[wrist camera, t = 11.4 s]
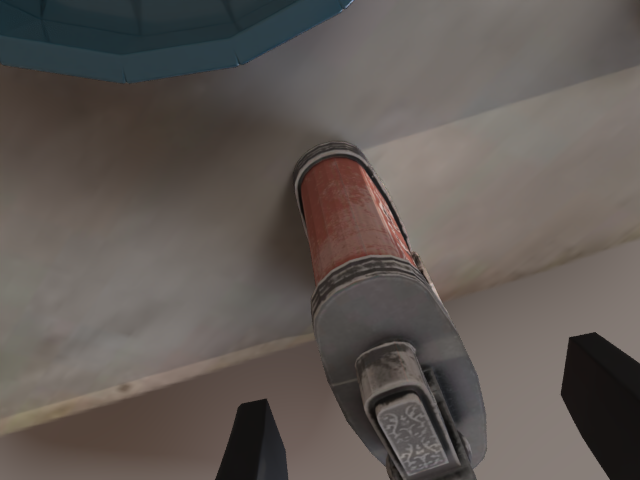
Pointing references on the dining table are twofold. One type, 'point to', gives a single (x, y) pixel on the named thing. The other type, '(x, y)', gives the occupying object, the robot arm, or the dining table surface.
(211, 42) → the bowl
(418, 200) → the dining table surface
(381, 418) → the lighter
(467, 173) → the dining table surface
